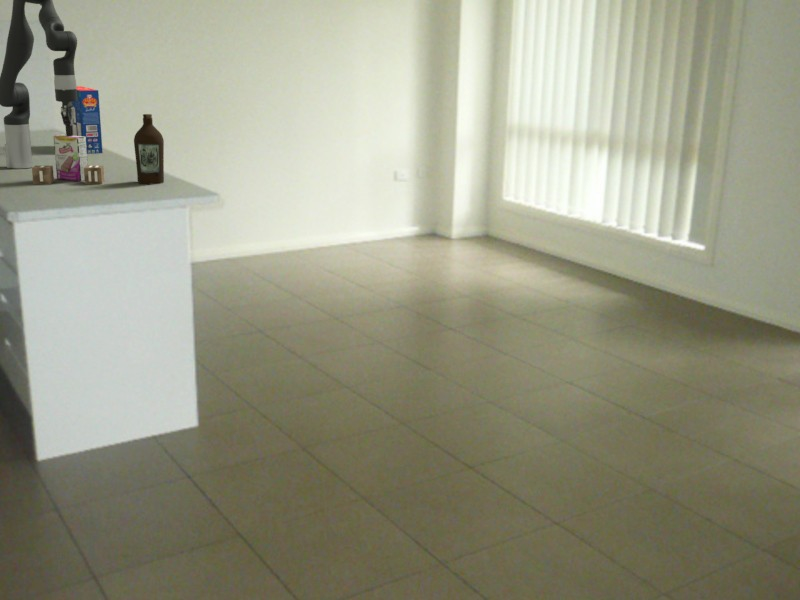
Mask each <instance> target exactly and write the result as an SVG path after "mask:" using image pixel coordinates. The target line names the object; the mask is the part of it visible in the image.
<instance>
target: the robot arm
mask: <svg viewBox="0 0 800 600" xmlns="http://www.w3.org/2000/svg"><path fill="white" fill-rule="evenodd" d="M26 3H27V4H33V5H34V4H36V5H40V6H41V8H40V9H39V12H38V21H39V25H40V26H41V28H42V29H43V31H44V34H45V44H46V47H47V48H48V49H49V50H50V51H53V52H65V54H64V55H63V56H62V57H57V58H55V59H53V63H52V66H53V73H54V77H53V78H54V80H53V81H54V83H53V84H54V94H55V97H54V98H55V101H56V102H61V106H60V115H61V119H62V122H63V125H64V127H65V135H67V136H73V127H72V125H73V123H74V106H72V102H73V101H77V88H76V87H77V80H76V75H75V73H76V72H75V58H76V53H77V52H76V51H77V47H78V37H77V36H76V34H75V33H74V32H73V31H70V30H65V26H64V24H63V21H62V20H61V18H60V16H59V14H58V13H57V11H56V8H55V5H54V2H53V0H12V11H11V18H10V24H9V29H8V35H7V39H6V47H5V52H4V53H5V55H4V60H3V64H2V69H1V73H0V106H1V107H5V108H12V109H11V112H9V114H7V115H5V116H4V117H3V128H4V135H5V136H4V137H5V143H4V152H5V153H4V154H5V161H6V162H5V163H6V169H29V168H33V167H34V163H33V162H34V161H33V154H32V142H31V131H30V117H31V106H30V104H31V102H30V93H29V89H28V87H27V86H26V85H25V84H24V83H22V82H17V77H18V75H19V74H20V72H21V71H22V69H23V67H25V65H26V64H27V63H28V61H29V59H30V58H31V57H32V52H33V47H34V42H35V36H34V33H33V31H32V28H31V26H30V24H29V22H28V19H27V16H26V12H25V10H26V9H25V6H26Z"/></svg>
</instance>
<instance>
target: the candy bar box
mask: <svg viewBox="0 0 800 600" xmlns="http://www.w3.org/2000/svg"><path fill="white" fill-rule="evenodd" d="M53 145H54V146H53V147H54V148H53V149H54V155H55V156H54V159H55V169H56V180H62V181H70V182H71V181H73V182H85V178H84V167H86V166H89V165H88V154H87V146H86V137H84V136H67V135H66V134H57V135H56V134H55V135H53Z"/></svg>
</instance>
